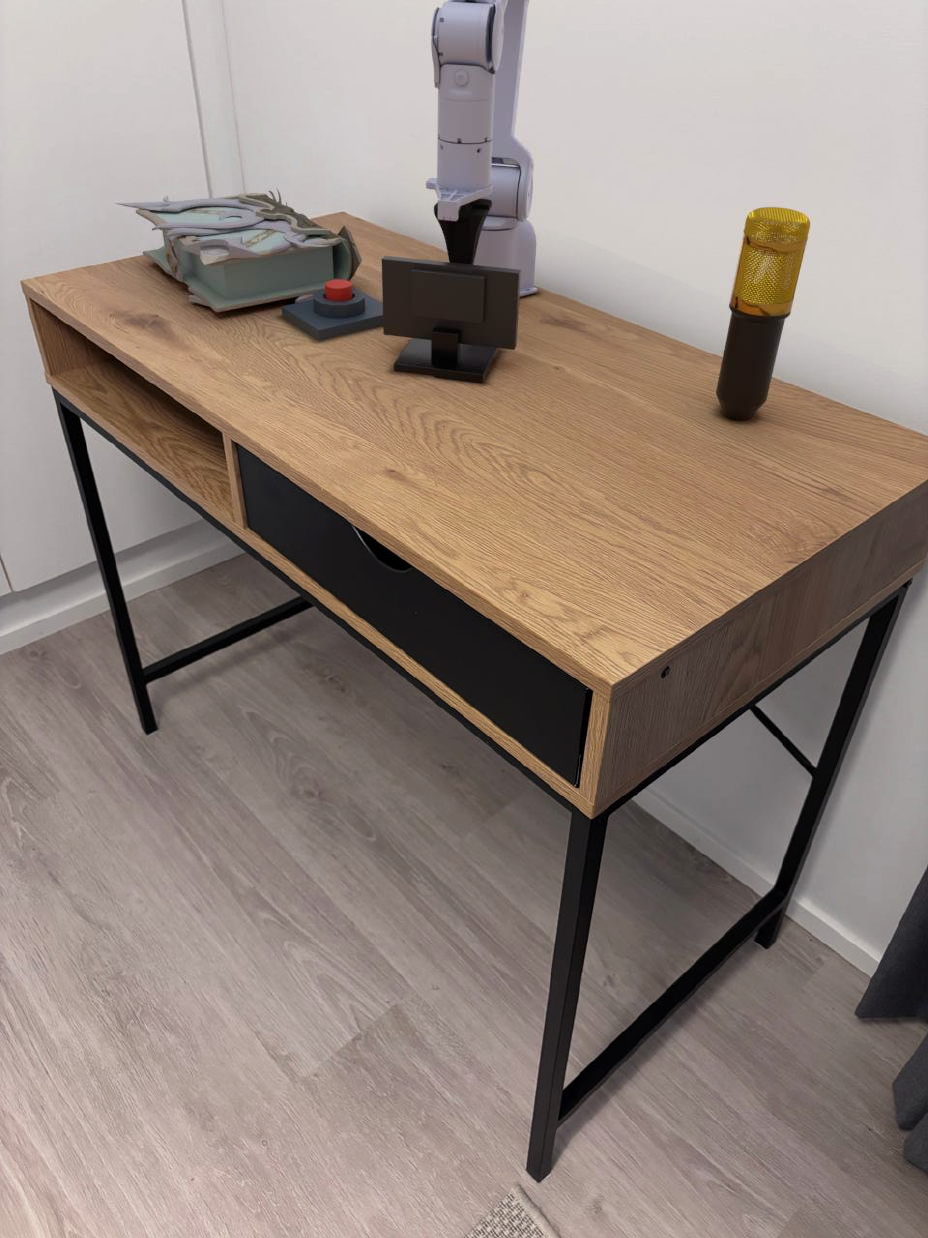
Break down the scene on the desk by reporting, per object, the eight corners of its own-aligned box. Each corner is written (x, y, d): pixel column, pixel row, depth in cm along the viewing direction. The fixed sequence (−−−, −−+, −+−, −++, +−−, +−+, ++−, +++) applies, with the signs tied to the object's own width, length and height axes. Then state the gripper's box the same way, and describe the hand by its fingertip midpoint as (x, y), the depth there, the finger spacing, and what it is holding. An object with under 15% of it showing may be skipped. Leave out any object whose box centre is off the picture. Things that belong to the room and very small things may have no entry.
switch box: (359, 300, 127) (358, 276, 125) (398, 322, 121) (398, 297, 119) (281, 317, 121) (279, 292, 120) (319, 341, 116) (317, 316, 114)
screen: (386, 330, 113) (385, 255, 108) (516, 345, 110) (521, 269, 105) (381, 337, 111) (379, 261, 106) (513, 352, 109) (517, 275, 104)
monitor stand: (415, 341, 116) (415, 307, 114) (499, 351, 115) (501, 317, 112) (393, 372, 109) (393, 336, 107) (482, 383, 108) (484, 347, 105)
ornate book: (372, 302, 129) (268, 232, 147) (371, 226, 123) (263, 163, 141) (207, 337, 118) (118, 257, 137) (197, 255, 112) (106, 183, 131)
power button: (343, 291, 121) (342, 277, 120) (357, 299, 119) (357, 284, 118) (320, 296, 120) (319, 282, 119) (334, 304, 118) (333, 290, 117)
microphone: (688, 372, 111) (721, 183, 99) (778, 418, 103) (826, 217, 91) (649, 384, 109) (678, 190, 97) (738, 431, 100) (782, 226, 88)
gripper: (444, 120, 109) (442, 247, 118) (408, 150, 98) (409, 287, 106) (507, 125, 108) (501, 253, 117) (478, 155, 97) (473, 294, 105)
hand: (461, 270), depth 111 cm, fingers closed
